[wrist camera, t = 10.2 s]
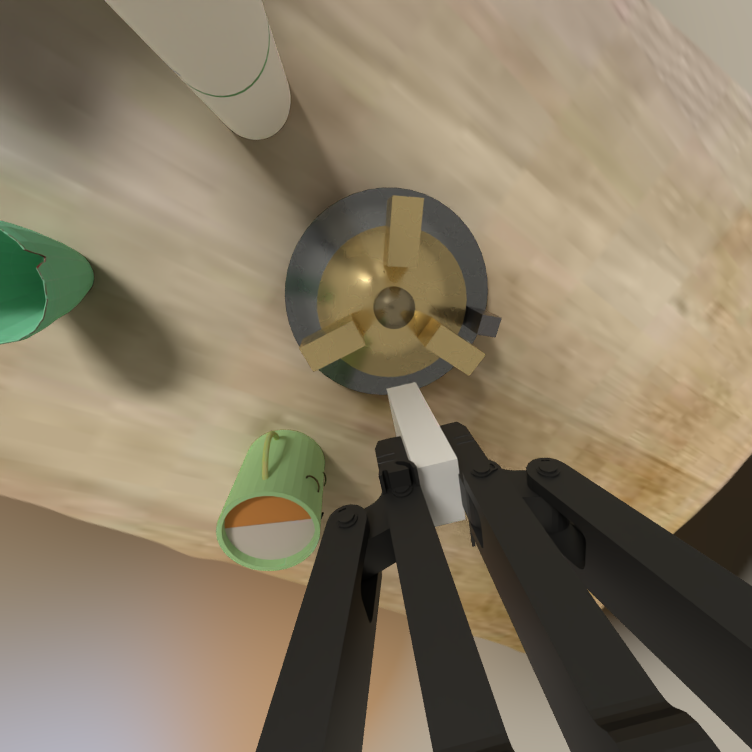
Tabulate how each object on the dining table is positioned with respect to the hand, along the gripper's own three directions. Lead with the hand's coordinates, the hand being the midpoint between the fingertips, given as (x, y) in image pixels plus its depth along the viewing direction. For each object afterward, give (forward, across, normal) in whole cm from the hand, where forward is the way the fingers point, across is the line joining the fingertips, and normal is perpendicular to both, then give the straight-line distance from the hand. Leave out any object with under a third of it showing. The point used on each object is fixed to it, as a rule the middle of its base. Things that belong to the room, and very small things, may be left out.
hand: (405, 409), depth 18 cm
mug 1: (+25, -30, +12) cm, 41 cm away
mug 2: (+24, -14, -16) cm, 32 cm away
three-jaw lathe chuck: (+22, +3, 0) cm, 22 cm away
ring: (+24, +3, +1) cm, 25 cm away
